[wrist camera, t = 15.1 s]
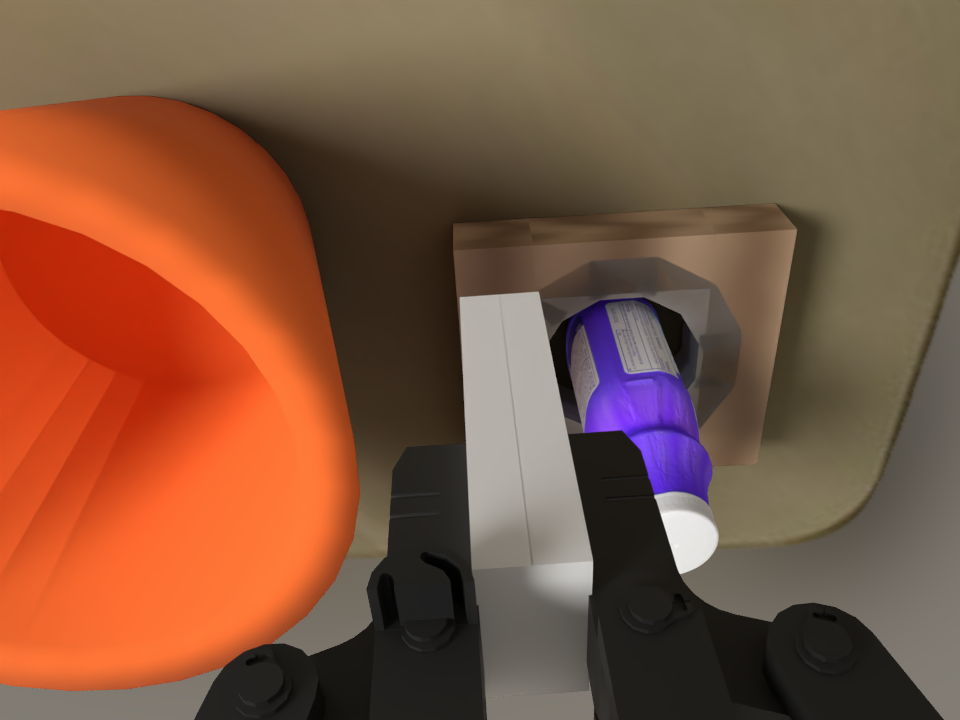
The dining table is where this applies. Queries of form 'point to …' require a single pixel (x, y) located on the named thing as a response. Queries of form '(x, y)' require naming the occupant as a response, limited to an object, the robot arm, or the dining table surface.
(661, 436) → the bottle
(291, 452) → the flowerpot
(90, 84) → the dining table surface
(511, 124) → the dining table surface
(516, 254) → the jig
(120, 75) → the dining table surface
